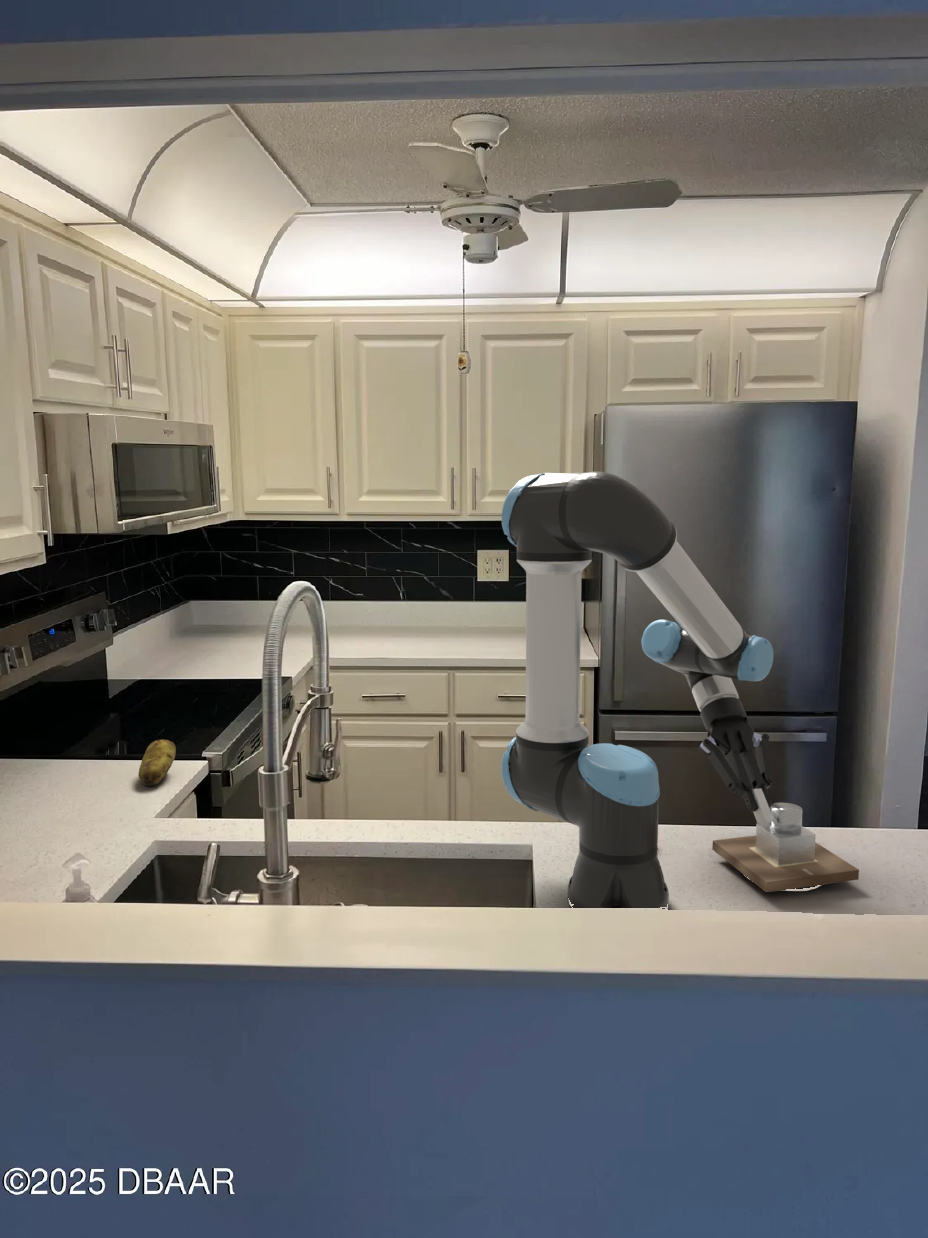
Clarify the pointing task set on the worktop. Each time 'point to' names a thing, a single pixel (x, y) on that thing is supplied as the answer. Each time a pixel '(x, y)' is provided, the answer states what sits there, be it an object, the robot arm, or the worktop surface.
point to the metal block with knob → (785, 836)
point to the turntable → (786, 876)
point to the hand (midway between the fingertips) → (768, 828)
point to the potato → (156, 762)
